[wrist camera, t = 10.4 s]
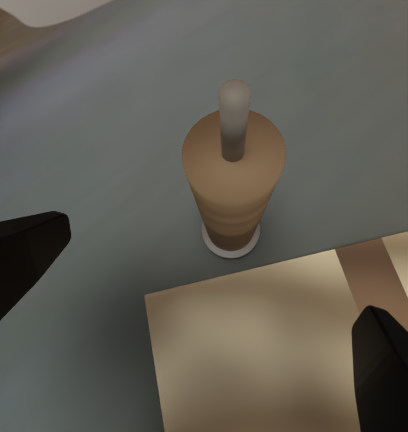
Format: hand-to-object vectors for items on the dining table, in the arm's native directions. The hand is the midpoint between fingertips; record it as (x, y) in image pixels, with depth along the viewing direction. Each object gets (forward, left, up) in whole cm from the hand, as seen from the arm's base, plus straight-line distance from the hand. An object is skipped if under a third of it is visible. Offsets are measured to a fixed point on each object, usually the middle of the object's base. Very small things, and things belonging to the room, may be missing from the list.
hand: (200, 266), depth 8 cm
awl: (+3, -2, -10) cm, 11 cm away
